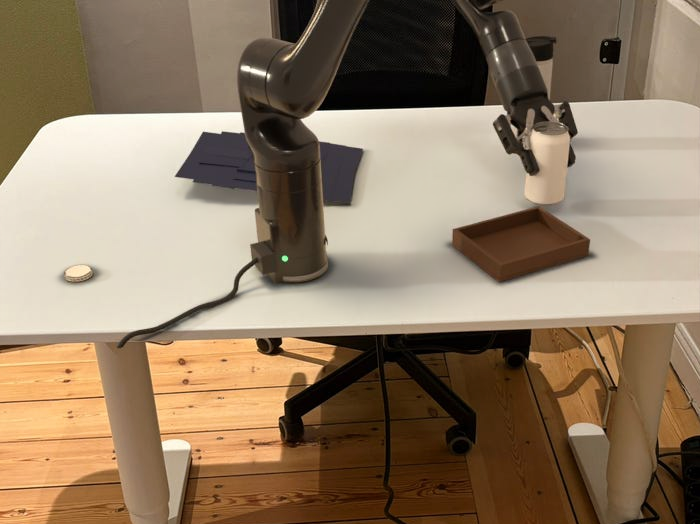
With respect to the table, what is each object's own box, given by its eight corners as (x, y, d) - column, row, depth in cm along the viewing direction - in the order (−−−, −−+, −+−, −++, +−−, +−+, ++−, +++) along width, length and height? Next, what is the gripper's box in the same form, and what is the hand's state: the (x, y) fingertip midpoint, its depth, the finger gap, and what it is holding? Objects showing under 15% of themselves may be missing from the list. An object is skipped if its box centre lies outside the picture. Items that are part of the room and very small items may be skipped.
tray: (499, 282, 135) (500, 265, 134) (452, 245, 145) (452, 229, 143) (588, 255, 141) (590, 239, 140) (537, 221, 151) (538, 205, 149)
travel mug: (546, 151, 175) (555, 43, 163) (511, 149, 176) (517, 41, 164) (548, 139, 180) (557, 33, 168) (514, 137, 181) (521, 31, 169)
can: (518, 192, 156) (523, 122, 149) (553, 187, 157) (560, 118, 150) (534, 208, 151) (540, 137, 144) (570, 203, 152) (578, 132, 145)
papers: (205, 141, 177) (205, 123, 175) (362, 161, 177) (363, 143, 175) (172, 196, 157) (171, 176, 155) (348, 218, 158) (350, 199, 155)
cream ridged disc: (82, 265, 140) (81, 261, 140) (98, 273, 138) (97, 269, 138) (59, 275, 138) (58, 272, 138) (75, 284, 136) (74, 280, 135)
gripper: (489, 71, 145) (527, 168, 143) (563, 57, 151) (601, 151, 149) (469, 94, 152) (505, 188, 150) (541, 80, 157) (577, 170, 156)
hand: (553, 169), depth 150 cm, fingers closed on can, 6 cm apart
